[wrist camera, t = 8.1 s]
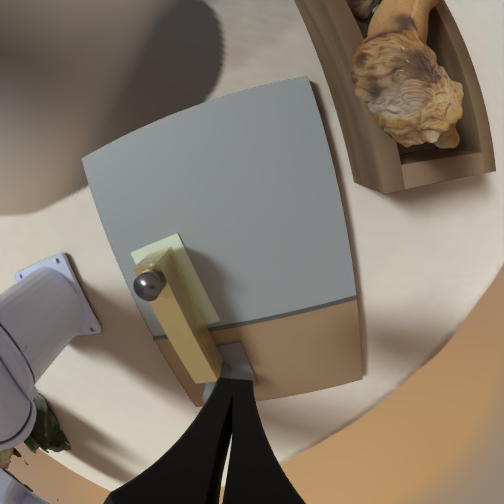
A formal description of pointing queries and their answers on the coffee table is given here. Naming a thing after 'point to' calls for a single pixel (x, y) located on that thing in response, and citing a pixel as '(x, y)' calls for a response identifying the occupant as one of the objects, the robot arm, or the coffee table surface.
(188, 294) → the latch bar
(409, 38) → the lion figurine
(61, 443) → the rose bouquet
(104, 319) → the coffee table surface
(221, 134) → the door board
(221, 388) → the robot arm
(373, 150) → the display tray
